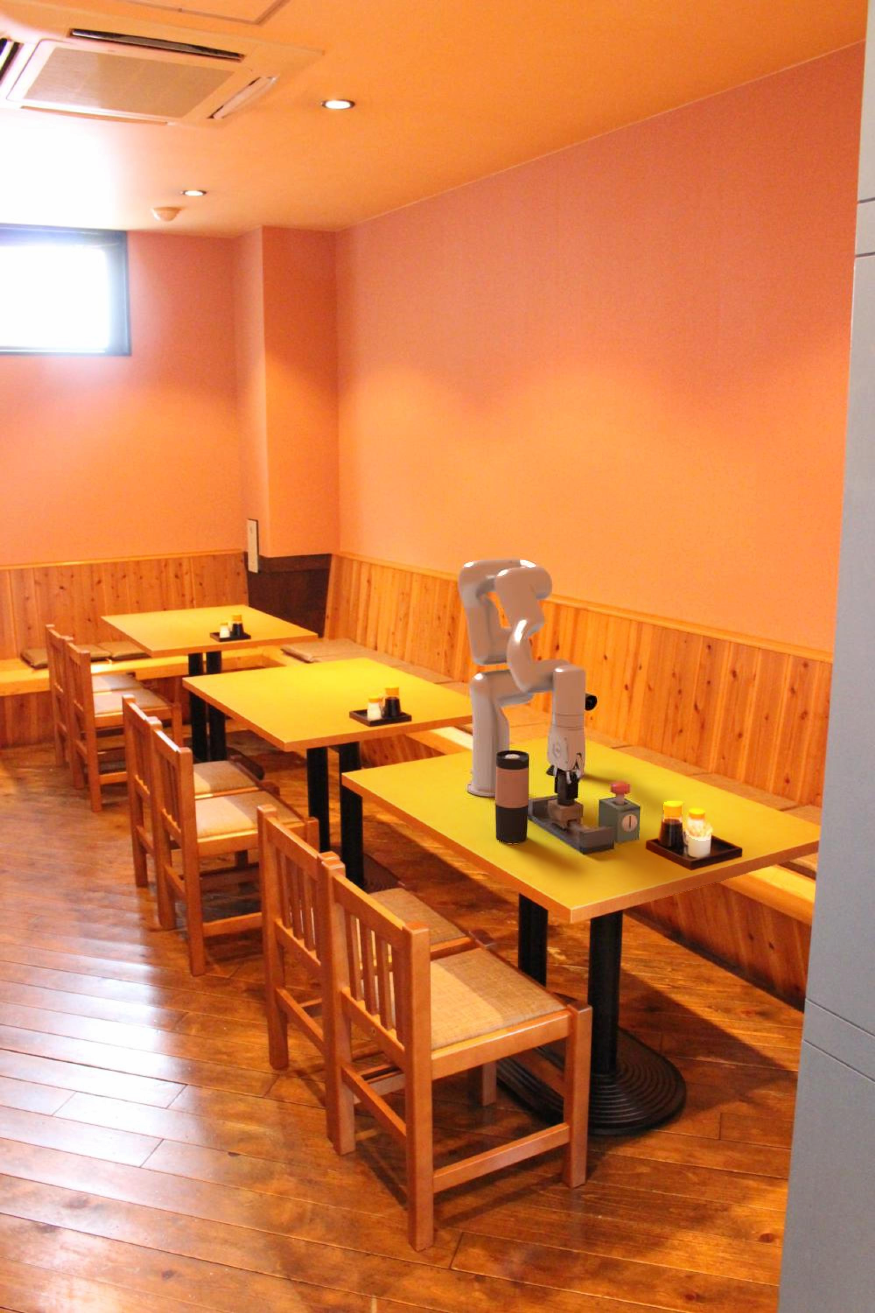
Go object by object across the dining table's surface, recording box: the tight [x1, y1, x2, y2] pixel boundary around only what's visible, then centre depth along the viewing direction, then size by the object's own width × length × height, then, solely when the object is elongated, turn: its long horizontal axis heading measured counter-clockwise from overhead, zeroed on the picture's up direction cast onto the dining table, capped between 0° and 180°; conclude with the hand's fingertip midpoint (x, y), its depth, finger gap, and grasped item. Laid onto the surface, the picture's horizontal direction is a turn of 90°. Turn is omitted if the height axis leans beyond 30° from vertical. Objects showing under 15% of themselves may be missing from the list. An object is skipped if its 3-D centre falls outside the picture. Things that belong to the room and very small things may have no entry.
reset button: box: [609, 781, 631, 806], centre depth 252 cm, size 4×4×6 cm
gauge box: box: [597, 796, 642, 844], centre depth 252 cm, size 8×6×8 cm
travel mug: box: [494, 749, 530, 845], centre depth 250 cm, size 8×8×20 cm
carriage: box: [548, 772, 585, 829], centre depth 255 cm, size 6×6×12 cm
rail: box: [528, 794, 615, 855], centre depth 254 cm, size 25×8×5 cm, turn 25°
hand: (566, 794), depth 255 cm, fingers closed on carriage, 4 cm apart
